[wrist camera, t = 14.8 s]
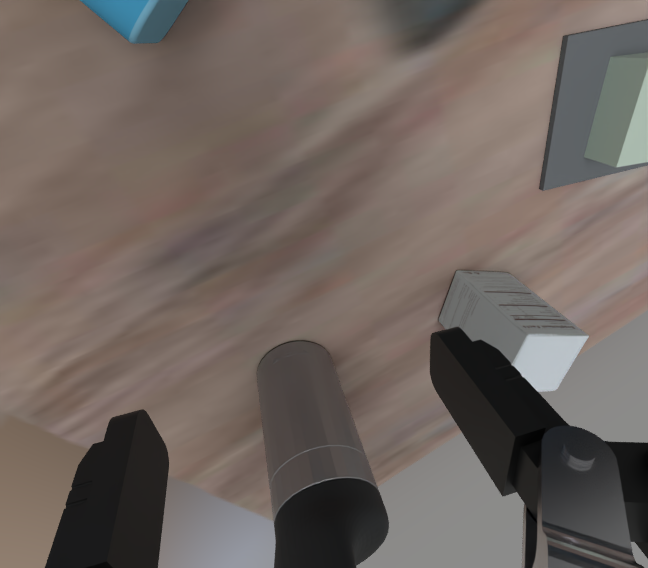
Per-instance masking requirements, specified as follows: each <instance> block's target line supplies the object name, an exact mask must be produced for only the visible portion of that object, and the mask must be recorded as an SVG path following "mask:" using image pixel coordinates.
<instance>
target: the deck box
mask: <svg viewBox="0 0 648 568" xmlns="http://www.w3.org/2000/svg"><path fill="white" fill-rule="evenodd" d="M584 157H585V158H588V159H591V160H594V161H598V162H601V163H604V164H607V165H610V166H613V167H622V166H628V165H633V164H639V163H645V162H648V52H646V53H638V54H630V55H622V56H614V57H610V61H609V64H608V68H607V72H606V76H605V79H604V83H603V87H602V91H601V94H600V98H599V102H598V106H597V109H596V113H595V117H594V121H593V124H592V128H591V132H590V136H589V139H588V143H587V147H586V151H585V154H584Z"/></svg>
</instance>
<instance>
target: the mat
mask: <svg viewBox="0 0 648 568" xmlns="http://www.w3.org/2000/svg"><path fill="white" fill-rule="evenodd" d="M646 52H648V19H647V20H642V21H637V22H632V23H627V24H622V25H617V26H612V27H606V28H601V29H596V30H591V31H586V32H581V33H576V34H571V35H566V36H563V42H562V48H561V54H560V61H559V67H558V74H557V80H556V86H555V93H554V99H553V105H552V112H551V118H550V124H549V131H548V137H547V143H546V150H545V156H544V162H543V169H542V175H541V181H540V188H539V189H540V190H543V191H544V190H548V189H552V188H556V187H560V186H565V185H569V184H573V183H577V182H581V181H585V180H589V179H593V178H597V177H601V176H606V175H610V174H614V173H618V172H622V171H626V170H630V169H634V168H638V167H642V166H647V165H648V162H645V163H639V164H633V165H628V166H622V167H613V166H610V165H607V164H604V163H601V162H598V161H594V160H591V159H588V158H585V157H584V154H585V151H586V147H587V143H588V139H589V136H590V132H591V128H592V124H593V121H594V117H595V113H596V109H597V106H598V102H599V98H600V94H601V91H602V87H603V83H604V79H605V76H606V72H607V68H608V64H609V61H610V57H614V56H622V55H630V54H638V53H646Z"/></svg>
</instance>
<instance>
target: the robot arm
mask: <svg viewBox="0 0 648 568" xmlns="http://www.w3.org/2000/svg"><path fill="white" fill-rule="evenodd" d="M430 375H431V380H432V383H433V385H434V388H435V390H436V392H437V393H438V395H439V397H440V398H441V400H442V401H443V403H444V404H445V406H446V408H447V409H448V411H449V412H450V414H451V416H452V417H453V419H454V420H455V422H456V423H457V425H458V427H459V428H460V430H461V431H462V433H463V434H464V436H465V438H466V439H467V441H468V442H469V444H470V445H471V447H472V449H473V450H474V452H475V454H476V455H477V456H478V458H479V460H480V461H481V463H482V464H483V466H484V468H485V469H486V471H487V472H488V474H489V476H490V477H491V479H492V480H493V482H494V483H495V485H496V487H497V488H498V490H499V491H500V493H501V495H502V496H506V495H509V494H512V493H515V492H517V493H518V494H519V496H520V497H521V499H522V500H523V501H524V503H525V504H524V513H523V543H522V544H523V545H522V568H644V567H643V566H642V565H639V564H637V563H636V561H635V559H634V557H633V553H632V547H631V542H635V543H636V544H637V545H638V547H639V548H640V549H641V550H642V552H643V553H644V554H645V556H646V557H647V558H648V443H634V442H607V441H603V440H602V439H601V438H599V437H598V436H596V435H595V434H593V433H591V432H589V431H587V430H585V429H582V428H579V427H574V426H570V425H568V424H567V423H566V422H565V421H564V420H563V419H562V418H561V417H560V416H559V414H558V413H557V412H556V411H555V410H554V409H553V408H552V407H551V406H550V405H549V404H548V403H547V401H546V400H545V399H544V398H543V397H542V396H541V395H540V394H539V393H538V392H537V391H536V390H535V388H534V387H533V386H532V385H531V384H530V383H529V382H528V381H527V380H526V379H525V378H524V377H522V375H521V373H520V372H519V371H518V370H517V369H516V368H515V367H514V366H512V365H511V362H510V361H509V360H508V359H507V358H506V357H505V356H504V355H503V354H502V353H501V352H500V350H499V349H497V348H495V347H493V346H492V345H490V344H488V343H486V342H485V341H483V340H481V339H480V340H477V341H473V342H472V340H471V339H470V338H469V337H468V336H467V335H466V333H465V332H464V331H463V330H462V329H461V328H460V327H453V328H450V329H446V330H442V331H438V332H435V333H432V334H431V340H430ZM257 383H258V392H259V401H260V410H261V418H262V427H263V435H264V444H265V452H266V461H267V469H268V478H269V486H270V493H271V502H272V510H273V519H274V527H275V537H276V550H275V563H274V568H356V565H358V564H360V563H361V562H363V561H364V560H366V559H367V558H368V557H369V556H371V555H372V554H373V553H374V552H375V551H376V550H377V549H378V548H379V546H381V544H382V543H383V542H384V540H385V538H386V536H387V533H388V528H389V522H388V516H387V513H386V509H385V506H384V504H383V501H382V498H381V495H380V493H379V490H378V487H377V485H376V482H375V479H374V476H373V474H372V471H371V468H370V465H369V462H368V460H367V457H366V455H365V452H364V449H363V446H362V443H361V440H360V438H359V435H358V432H357V429H356V426H355V424H354V421H353V418H352V415H351V412H350V410H349V407H348V404H347V401H346V398H345V396H344V393H343V390H342V387H341V384H340V381H339V378H338V376H337V373H336V370H335V367H334V365H333V362H332V359H331V357H330V355H329V353H328V352H327V351H326V350H325V349H324V348H323V347H321V346H320V345H318V344H315V343H312V342H306V341H295V342H290V343H286V344H283V345H280V346H278V347H277V348H275V349H273V350H272V351H270V352H269V353H268V354H267V355H266V356H265V357H264V358H263V359H262V360H261V362H260V364H259V366H258V370H257ZM168 471H169V458H168V452H167V448H166V445H165V443H164V441H163V439H162V438H161V436H160V434H159V432H158V431H157V429H156V427H155V426H154V424H153V422H152V420H151V419H150V417H149V415H148V413H147V412H146V411H145V410H143V409H142V410H138V411H135V412H131V413H127V414H123V415H120V416H116V417H113V418H111V420H110V421H109V424H108V427H107V431H106V434H105V438H104V441H103V442H99V443H95V444H93V445H92V446H91V448H90V449H89V451H88V452H87V454H86V455H85V456H84V458H83V459H82V461H81V462H80V464H79V465H78V468H77V471H76V474H75V477H74V480H73V483H72V490H71V491H70V493H69V495H68V499H67V502H66V509H64V511H63V514H62V517H61V520H60V523H59V526H58V529H57V532H56V535H55V538H54V542H53V545H52V548H51V551H50V554H49V557H48V560H47V563H46V566H45V568H158V560H159V551H160V542H161V533H162V524H163V515H164V506H165V497H166V487H167V479H168Z"/></svg>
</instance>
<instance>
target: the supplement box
mask: <svg viewBox="0 0 648 568" xmlns="http://www.w3.org/2000/svg"><path fill="white" fill-rule="evenodd" d="M439 322H440V323H441V324H442V325H443V327H444V328H445V329H450V328H453V327H460V328H461V329H462V330H463V331H464V332H465V333H466V335H467V336H468V337H469V338H470V339H471V340H472V342H473V341H477V340H480V339H481V340H483V341H485V342H486V343H488V344H490V345H492V346H493V347H495V348H497V349H499V350H500V352H501V353H502V354H503V355H504V356H505V357H506V358H507V359H508V360H509V361H510V362H511V365H512V366H514V367H515V368H516V369H517V370H518V371H519V372H520V373H521V375H522V377H524V378H525V379H526V380H527V381H528V382H529V383H530V384H531V385H532V386H533V387H534V388H535V390H536V391H537V392H541V391H554V390H556V389H557V388H558V386H559V385H560V383H561V381H562V380H563V378H564V376H565V374H566V373H567V371H568V369H569V368H570V366H571V365H572V363H573V361H574V360H575V358H576V356H577V355H578V353H579V351H580V350H581V348H582V346H583V345H584V343H585V342H586V340H587V339H588V337H589V335H587V334H586V333H585V332H584V331H582V330H581V329H580V328H578V327H577V326H576V325H575V324H573V323H572V322H571V321H570V320H568V319H567V318H566V317H564V316H563V315H562V314H561V313H559V312H558V311H557V310H555V309H554V308H553V307H551V306H550V305H549V304H548V303H546V302H545V301H544V300H543V299H541V298H540V297H539V296H538V295H536V294H535V293H534V292H532V291H531V290H530V289H529V288H527V287H526V286H525V285H524V284H522V283H521V282H520V281H518V280H517V279H516V278H515V277H513V276H512V275H511V274H509V273H505V272H486V271H463V270H457V271H456V273H455V276H454V279H453V282H452V284H451V287H450V290H449V293H448V295H447V298H446V301H445V304H444V306H443V309H442V312H441V314H440V317H439Z"/></svg>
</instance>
